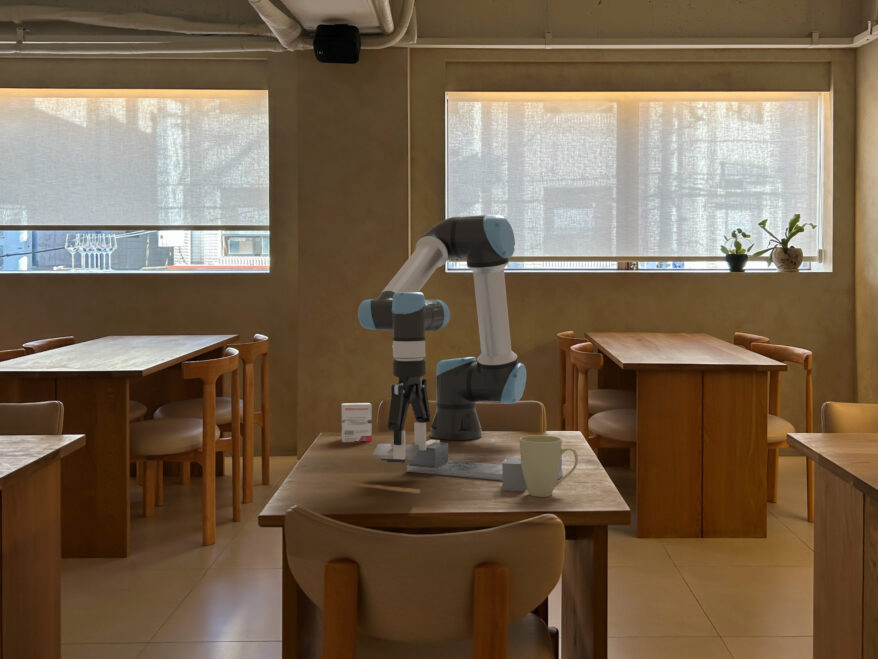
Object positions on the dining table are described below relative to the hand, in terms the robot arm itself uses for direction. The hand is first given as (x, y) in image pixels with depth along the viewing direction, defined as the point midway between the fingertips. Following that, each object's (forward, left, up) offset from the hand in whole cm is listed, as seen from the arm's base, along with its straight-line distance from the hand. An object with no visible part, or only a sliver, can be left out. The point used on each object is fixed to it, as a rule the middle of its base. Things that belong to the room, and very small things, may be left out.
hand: (410, 454), depth 195 cm
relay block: (-2, +25, -6) cm, 26 cm away
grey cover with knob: (-1, 0, -2) cm, 3 cm away
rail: (-13, +13, -6) cm, 19 cm away
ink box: (-37, -35, -6) cm, 51 cm away
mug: (+1, +33, -6) cm, 34 cm away
